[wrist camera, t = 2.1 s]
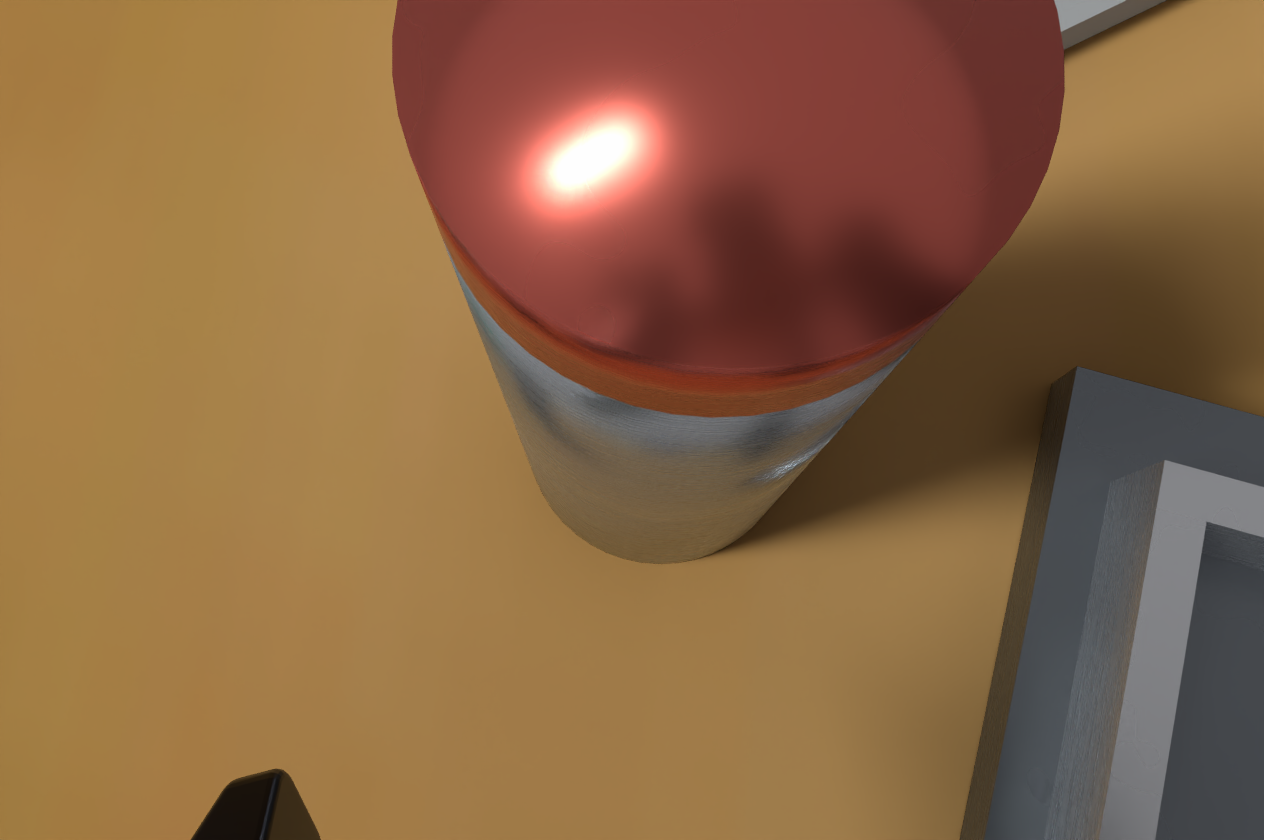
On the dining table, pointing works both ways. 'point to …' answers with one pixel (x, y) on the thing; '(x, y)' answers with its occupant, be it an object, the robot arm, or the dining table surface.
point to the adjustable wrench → (1095, 16)
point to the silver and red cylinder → (714, 223)
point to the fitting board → (1131, 627)
